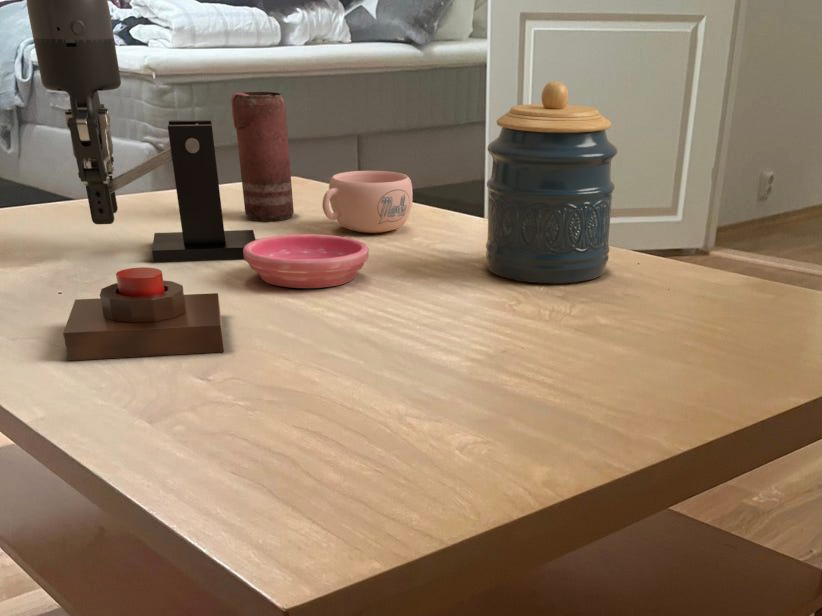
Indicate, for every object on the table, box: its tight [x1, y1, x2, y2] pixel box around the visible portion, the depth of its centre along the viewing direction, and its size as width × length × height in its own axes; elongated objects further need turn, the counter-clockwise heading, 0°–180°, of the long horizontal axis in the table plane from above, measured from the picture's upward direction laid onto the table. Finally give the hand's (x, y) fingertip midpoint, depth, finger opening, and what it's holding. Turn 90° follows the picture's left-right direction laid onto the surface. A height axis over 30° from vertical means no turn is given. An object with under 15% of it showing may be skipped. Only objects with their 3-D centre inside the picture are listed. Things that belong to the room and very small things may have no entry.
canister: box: [485, 80, 618, 284], centre depth 102 cm, size 13×13×18 cm
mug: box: [321, 170, 414, 234], centre depth 120 cm, size 12×10×6 cm
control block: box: [62, 279, 225, 362], centre depth 83 cm, size 12×10×4 cm
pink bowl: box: [243, 233, 369, 289], centre depth 101 cm, size 12×12×3 cm
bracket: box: [151, 119, 257, 263], centre depth 108 cm, size 11×9×13 cm
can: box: [230, 91, 295, 222], centre depth 124 cm, size 6×6×14 cm
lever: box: [109, 123, 198, 194], centre depth 106 cm, size 13×5×2 cm, turn 104°
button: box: [115, 266, 165, 297], centre depth 82 cm, size 4×4×2 cm
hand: (105, 217), depth 107 cm, fingers closed on lever, 5 cm apart
